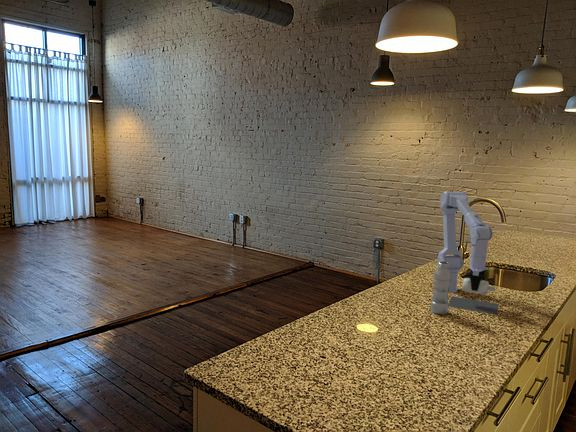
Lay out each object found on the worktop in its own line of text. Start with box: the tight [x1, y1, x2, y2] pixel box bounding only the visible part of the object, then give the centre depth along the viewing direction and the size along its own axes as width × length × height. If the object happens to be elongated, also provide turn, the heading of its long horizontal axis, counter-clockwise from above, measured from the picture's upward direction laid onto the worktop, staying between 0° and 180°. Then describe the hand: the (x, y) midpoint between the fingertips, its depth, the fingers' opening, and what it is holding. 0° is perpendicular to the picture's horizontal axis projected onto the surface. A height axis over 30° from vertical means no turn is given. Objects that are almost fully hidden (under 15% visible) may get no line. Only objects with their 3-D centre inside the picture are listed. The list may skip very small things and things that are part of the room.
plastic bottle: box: [429, 262, 452, 315], centre depth 168 cm, size 6×7×20 cm
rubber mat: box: [448, 295, 499, 316], centre depth 179 cm, size 18×14×1 cm
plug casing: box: [462, 277, 496, 295], centre depth 177 cm, size 12×4×4 cm, turn 63°
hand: (475, 288), depth 178 cm, fingers closed on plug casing, 4 cm apart
